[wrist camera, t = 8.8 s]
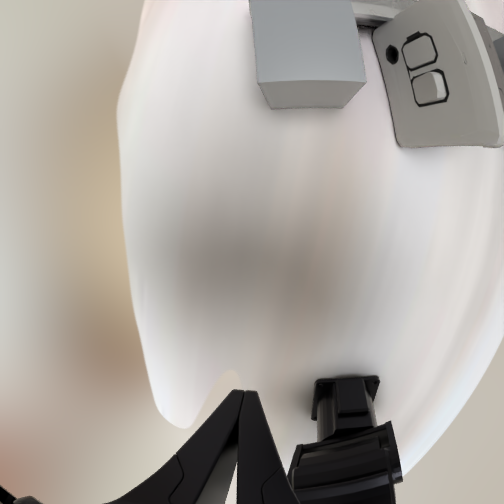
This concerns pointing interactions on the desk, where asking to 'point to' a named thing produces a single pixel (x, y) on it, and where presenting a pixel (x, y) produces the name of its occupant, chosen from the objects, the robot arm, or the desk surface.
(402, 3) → the rail
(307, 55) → the mounted modules
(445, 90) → the electrical switch
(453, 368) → the desk surface
